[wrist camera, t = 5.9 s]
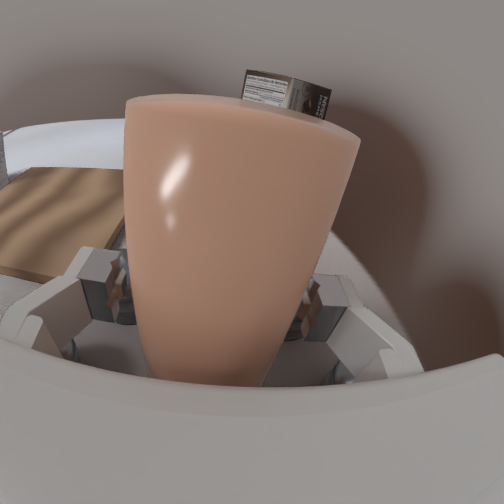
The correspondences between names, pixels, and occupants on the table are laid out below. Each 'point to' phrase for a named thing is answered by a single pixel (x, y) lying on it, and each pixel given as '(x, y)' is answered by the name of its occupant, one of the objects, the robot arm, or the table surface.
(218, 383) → the peach rounded cylinder
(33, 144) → the table surface
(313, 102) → the coffee box
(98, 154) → the table surface
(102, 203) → the walnut board
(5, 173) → the medicine box
